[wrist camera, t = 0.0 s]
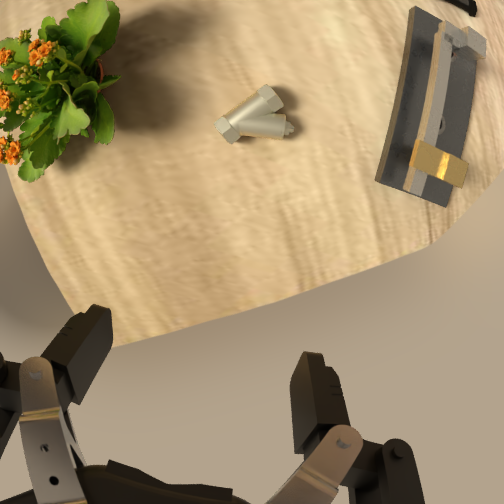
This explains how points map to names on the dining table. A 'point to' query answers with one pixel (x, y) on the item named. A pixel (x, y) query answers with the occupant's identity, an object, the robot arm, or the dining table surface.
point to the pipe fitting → (255, 118)
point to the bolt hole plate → (412, 105)
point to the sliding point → (438, 163)
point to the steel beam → (442, 86)
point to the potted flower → (56, 86)
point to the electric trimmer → (466, 5)
